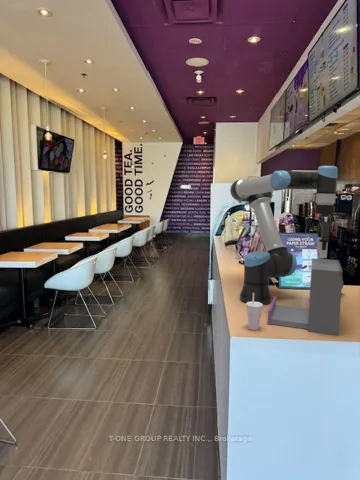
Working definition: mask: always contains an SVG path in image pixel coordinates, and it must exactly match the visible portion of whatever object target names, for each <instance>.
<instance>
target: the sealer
mask: <svg viewBox="0 0 360 480" xmlns="http://www.w3.org/2000/svg"><path fill="white" fill-rule="evenodd" d="M343 274H344V271H343V268H342V266H341V262H340V260H338V259H329V258H311V270H310V286H309V287H310V288H309V300H308V301H309V306H308V309H309V318H308V329H307V332H310V333H316V334H324V335H330V336H331V335H332V336H339V330H340V329H339V328H340V316H341V315H340V313H341V303H342V302H341V300H342V290H343V288H342V280H343V276H344V275H343Z"/></svg>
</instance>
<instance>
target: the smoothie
mask: <svg viewBox="0 0 360 480" xmlns="http://www.w3.org/2000/svg"><path fill="white" fill-rule="evenodd" d="M245 307H246V312H247V313H246V314H247V322H248V325H247V326H248V329H249V330H252V331H258V330H259V329H260V322H261V315H262V311H263V308H264V305H263V304H262V303H260V302H254V293H253V300H252V302H247V303H245Z"/></svg>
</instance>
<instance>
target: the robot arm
mask: <svg viewBox="0 0 360 480" xmlns="http://www.w3.org/2000/svg"><path fill="white" fill-rule="evenodd" d="M338 171H339V170H338V167H337V166H335V165H320V166H318V167H317V171H298V170H297V171H296V170H295V171H293V170H292V171H291V170H274V172H273V173H271V174H268V175H263V176H260V177H255V178H251V179H244V178H243V179H237V180H235V181H234V182H232V184H231V186H230V195H231V197H232V198H233V199H234V201H238V202H243V203H246V202H247V203H248V207H249V208H251V209H252V210H253V212H254V215H255V218H256V221H257V225H258V227H259V231H260V234H261V239H262V241H263V245H264V248H265V251H264V250H261V251H260V250H259V251H252V252H248V253H247V254H246V255H245V256H244V261H243V264H244V265H243V266H244V271H243V273H244V275H243V285H242V288H241V291H240V293H239V300H240V302H242V303H244V304H246V303H247V302H252V300H253V293H254V302H260V303H262V304H263V306H264V305H268V304H271V302H272V300H273V298H272V293H271V290H270V286H269V285H270V284H269V282H270V281H269V280H270V279H272V278H273V279H274V278H281V277H282V278H285V277H290V276H292V275H293V274H294V273H296V272H295V271H296V270H297V265H298V261H297V260H298V259H297V257H296V256H295V254H294V253H293V252H289V249H288V247H287V246H285V245H284V244H283V241H282V238H281V236H280V232H279V228H278V226H277V223H276V219H275V217H274V214H273V211H272V208H271V202H272V198H273V196H274V195H273V193H274V192H276V191H283V190H316V191H315V192H316V194H315V200H314V202H315V206H314V213H315V214H317V215H319V216H318V226H317V227H318V228H317V240H316V253H318V254H319V258H318V259H328V258H327V257H328V248H329V247H328V245H329V240H330V238H329V235H330V217H329V215H334V214H335V210H336V206H335V205H334V204H336V199H338V196H336V195H337V185H338V178H339V177H338Z"/></svg>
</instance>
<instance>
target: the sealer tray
mask: <svg viewBox="0 0 360 480" xmlns="http://www.w3.org/2000/svg"><path fill="white" fill-rule="evenodd" d="M308 318H309V308H306V307H298V306H297V307H296V306H288V305H279V304H277V296H273V298H272V302H271V303H270V305H269V307H268V309H267V324H268V325H275V326H277V325H278V326H282V327H283V326H284V327H290V328H292V327H293V328H297V329H306V330H308Z"/></svg>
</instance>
